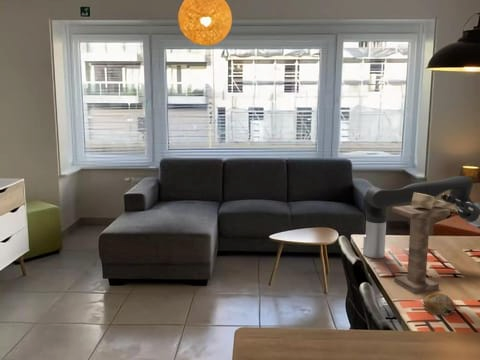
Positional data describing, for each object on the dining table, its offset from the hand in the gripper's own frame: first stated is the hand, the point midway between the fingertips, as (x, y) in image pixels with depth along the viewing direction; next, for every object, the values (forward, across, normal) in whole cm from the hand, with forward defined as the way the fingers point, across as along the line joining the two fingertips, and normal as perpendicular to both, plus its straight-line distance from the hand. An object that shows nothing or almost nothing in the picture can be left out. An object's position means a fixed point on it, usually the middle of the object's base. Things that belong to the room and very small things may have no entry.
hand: (445, 196), depth 189 cm
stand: (-8, 0, +37) cm, 38 cm away
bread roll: (-2, +21, +41) cm, 46 cm away
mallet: (0, 0, +6) cm, 6 cm away
